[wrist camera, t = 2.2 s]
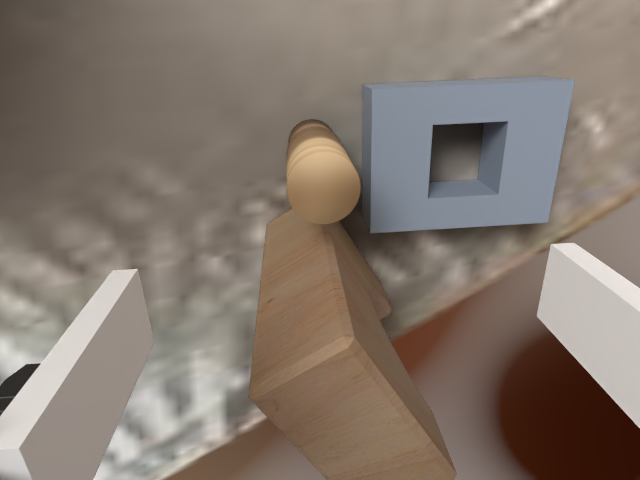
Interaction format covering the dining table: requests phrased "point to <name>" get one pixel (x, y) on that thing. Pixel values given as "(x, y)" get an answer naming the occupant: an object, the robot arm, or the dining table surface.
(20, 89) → the dining table surface
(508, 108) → the board
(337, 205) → the peg
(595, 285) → the robot arm
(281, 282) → the decorative block
